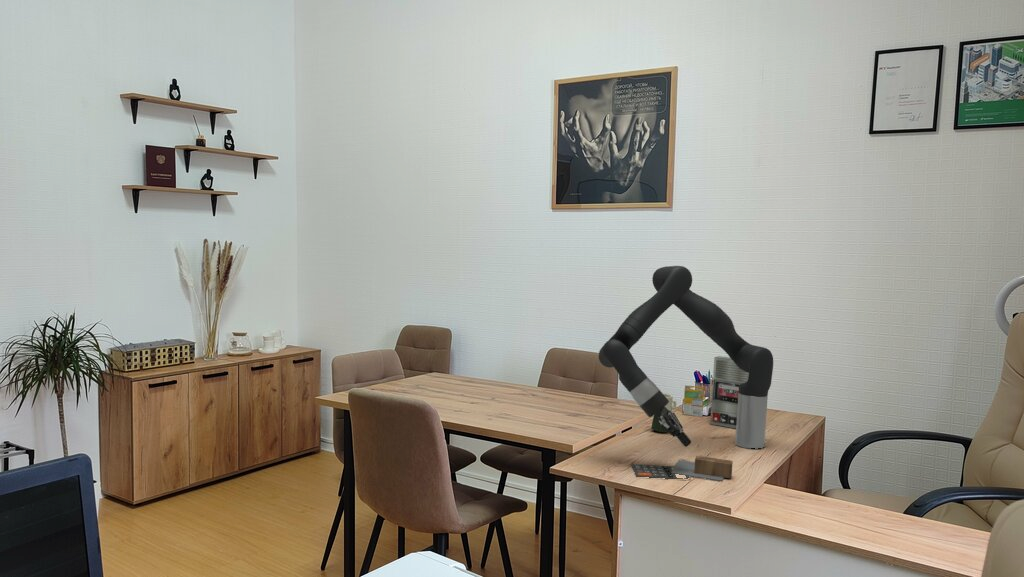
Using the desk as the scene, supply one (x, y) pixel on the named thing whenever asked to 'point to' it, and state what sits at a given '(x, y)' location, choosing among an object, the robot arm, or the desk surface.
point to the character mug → (655, 422)
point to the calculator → (655, 471)
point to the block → (713, 466)
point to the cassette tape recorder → (726, 391)
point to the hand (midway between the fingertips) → (688, 444)
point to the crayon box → (693, 401)
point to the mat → (691, 470)
